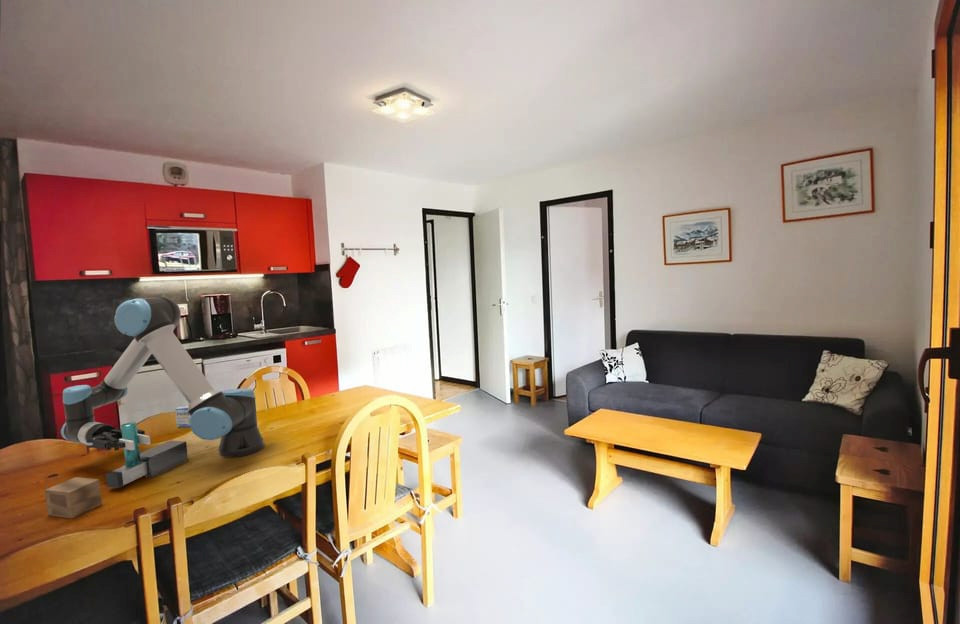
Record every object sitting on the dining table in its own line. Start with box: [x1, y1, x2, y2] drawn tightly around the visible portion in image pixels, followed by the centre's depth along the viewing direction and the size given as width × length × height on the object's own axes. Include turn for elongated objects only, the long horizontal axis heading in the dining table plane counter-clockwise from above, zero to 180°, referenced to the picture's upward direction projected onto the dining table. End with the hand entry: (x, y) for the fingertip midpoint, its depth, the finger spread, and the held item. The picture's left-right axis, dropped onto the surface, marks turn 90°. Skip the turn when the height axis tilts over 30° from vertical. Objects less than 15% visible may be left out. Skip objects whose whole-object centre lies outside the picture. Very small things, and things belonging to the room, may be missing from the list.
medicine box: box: [174, 405, 191, 429], centre depth 206 cm, size 8×4×9 cm, turn 99°
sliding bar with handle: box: [105, 421, 149, 489], centre depth 155 cm, size 23×4×18 cm, turn 166°
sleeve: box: [140, 440, 189, 478], centre depth 161 cm, size 14×7×7 cm, turn 166°
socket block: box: [44, 476, 103, 519], centre depth 134 cm, size 8×9×8 cm
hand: (141, 443), depth 148 cm, fingers closed on sliding bar with handle, 4 cm apart
